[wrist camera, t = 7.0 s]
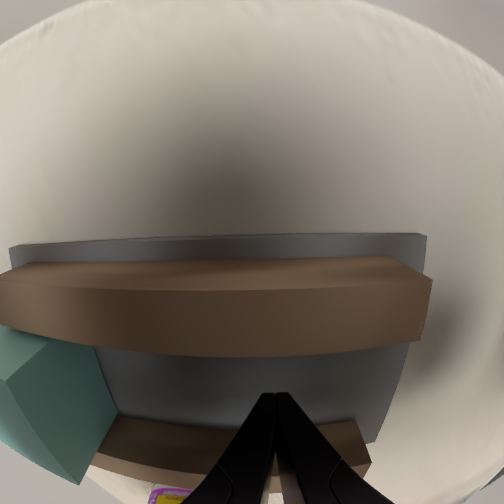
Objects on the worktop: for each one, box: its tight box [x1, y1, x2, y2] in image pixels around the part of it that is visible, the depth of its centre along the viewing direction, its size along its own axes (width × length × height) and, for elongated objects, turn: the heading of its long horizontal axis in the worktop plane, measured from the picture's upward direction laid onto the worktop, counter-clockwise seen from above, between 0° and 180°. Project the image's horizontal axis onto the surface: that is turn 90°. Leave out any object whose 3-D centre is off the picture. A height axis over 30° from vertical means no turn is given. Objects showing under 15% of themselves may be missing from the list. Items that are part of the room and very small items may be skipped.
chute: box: [0, 233, 433, 493], centre depth 8 cm, size 16×10×3 cm, turn 92°
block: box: [0, 325, 118, 485], centre depth 7 cm, size 5×5×4 cm
